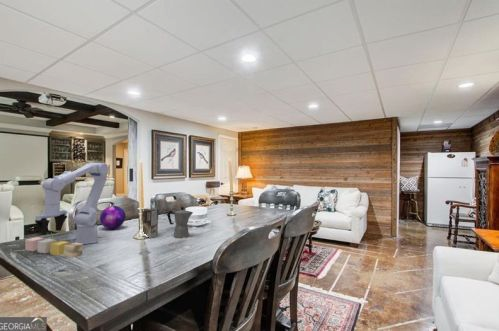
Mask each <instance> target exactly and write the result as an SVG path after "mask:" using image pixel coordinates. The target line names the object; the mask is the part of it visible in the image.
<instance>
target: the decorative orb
mask: <svg viewBox="0 0 499 331" xmlns="http://www.w3.org/2000/svg"><path fill="white" fill-rule="evenodd" d="M126 218H127V217H126V212H125V210H124V209H123V208H122V207H120V206H117V205H110V206H108V207H105V209H103V210H102V211H101V213H100V215H99V221H100V225H102V227H104V228H105V229H108V230H113V229H114V230H115V229H118V228H120V227H121V226H122V225H123V224H124V223H125V220H126Z"/></svg>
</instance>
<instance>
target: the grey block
mask: <svg viewBox="0 0 499 331" xmlns="http://www.w3.org/2000/svg"><path fill="white" fill-rule="evenodd" d="M55 242H58V241H57V239H53V238H47V239H44V240H43V241H39V242H38V250H37V253H41V254H48V253H50V250H51V244H52V243H55Z"/></svg>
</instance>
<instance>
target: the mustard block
mask: <svg viewBox="0 0 499 331" xmlns="http://www.w3.org/2000/svg"><path fill="white" fill-rule="evenodd" d="M68 244H70V241H66V240H65V241H64V240H60V241H57V242H55V243H52V244H51V250H50V252H49V253H50V255H53V256H62V255H64V246H65V245H68Z"/></svg>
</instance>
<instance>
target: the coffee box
mask: <svg viewBox="0 0 499 331" xmlns="http://www.w3.org/2000/svg"><path fill="white" fill-rule="evenodd" d="M138 221H139V222H138V224H139V225H138V227H139V228H138V231H139V230H140V219H138ZM142 221H143V232H144V234H146V235H147V236H148V237H149V238H148V239H153V238H156V237H158V235H159V234H158V231H159V230H158V229H159V209H156V208H155V209H154V208H144V211H143V212H142Z"/></svg>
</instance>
